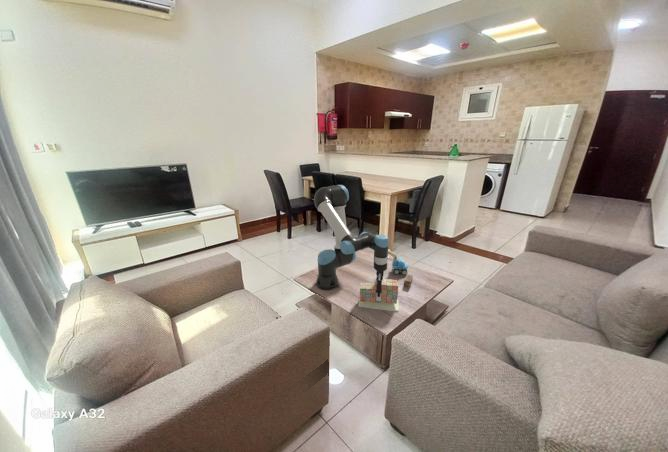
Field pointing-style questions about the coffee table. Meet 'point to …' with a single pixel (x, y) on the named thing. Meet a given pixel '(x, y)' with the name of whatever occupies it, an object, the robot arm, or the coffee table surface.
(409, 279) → the walnut brick
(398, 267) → the toy excavator
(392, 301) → the stack of blocks
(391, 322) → the coffee table surface
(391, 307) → the sage board
